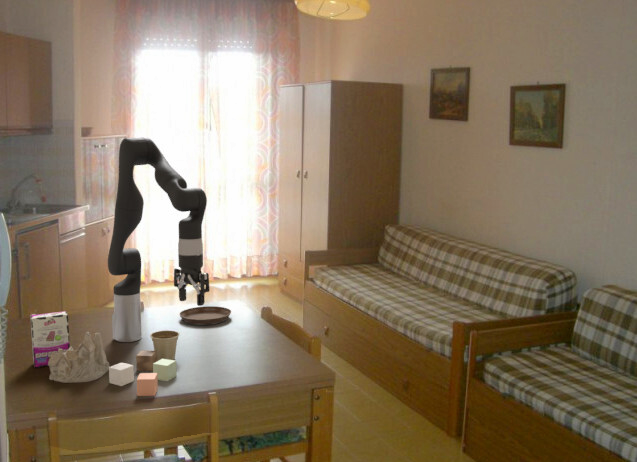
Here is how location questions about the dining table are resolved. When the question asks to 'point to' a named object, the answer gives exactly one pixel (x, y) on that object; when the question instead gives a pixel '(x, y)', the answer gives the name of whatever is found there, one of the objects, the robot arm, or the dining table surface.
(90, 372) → the ceramic cottage
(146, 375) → the terracotta cube
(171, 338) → the flower pot
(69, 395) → the dining table surface
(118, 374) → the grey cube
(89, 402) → the dining table surface
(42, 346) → the candy bar box
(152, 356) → the walnut cube
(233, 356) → the dining table surface
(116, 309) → the robot arm
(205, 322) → the plant saucer
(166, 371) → the sage cube
